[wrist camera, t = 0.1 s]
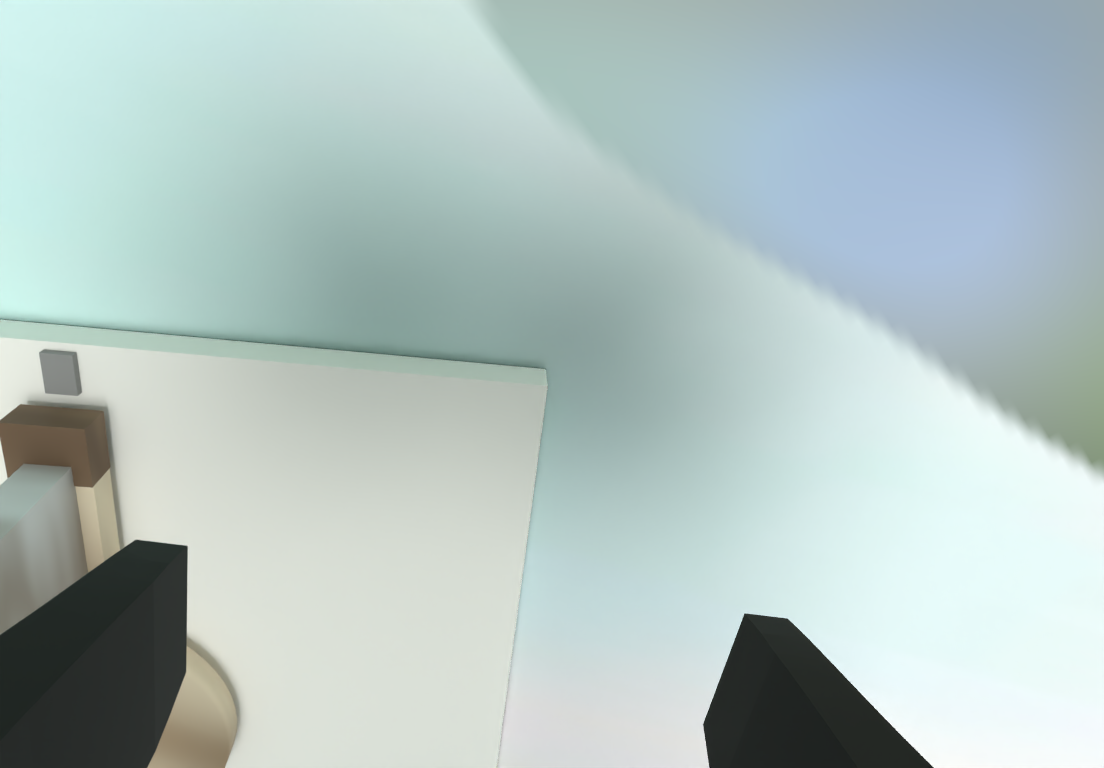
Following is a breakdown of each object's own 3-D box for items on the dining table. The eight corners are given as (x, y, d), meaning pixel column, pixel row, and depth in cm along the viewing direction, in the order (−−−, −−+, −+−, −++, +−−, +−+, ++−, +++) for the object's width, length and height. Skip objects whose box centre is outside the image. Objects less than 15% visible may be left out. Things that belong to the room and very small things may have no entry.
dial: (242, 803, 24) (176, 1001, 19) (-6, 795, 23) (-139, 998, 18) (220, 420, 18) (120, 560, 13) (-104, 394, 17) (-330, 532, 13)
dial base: (473, 920, 29) (472, 955, 27) (-184, 908, 26) (-214, 946, 25) (545, 368, 20) (548, 389, 18) (-445, 278, 17) (-509, 295, 16)
